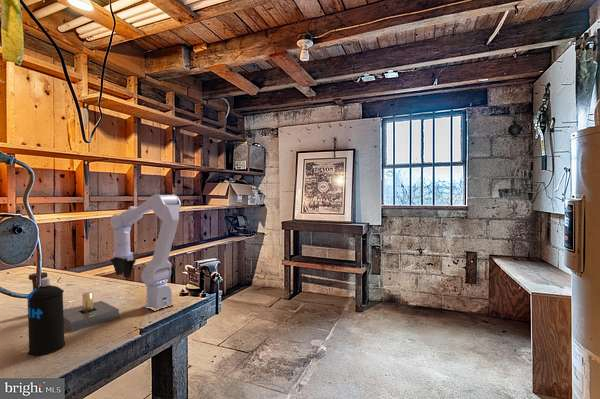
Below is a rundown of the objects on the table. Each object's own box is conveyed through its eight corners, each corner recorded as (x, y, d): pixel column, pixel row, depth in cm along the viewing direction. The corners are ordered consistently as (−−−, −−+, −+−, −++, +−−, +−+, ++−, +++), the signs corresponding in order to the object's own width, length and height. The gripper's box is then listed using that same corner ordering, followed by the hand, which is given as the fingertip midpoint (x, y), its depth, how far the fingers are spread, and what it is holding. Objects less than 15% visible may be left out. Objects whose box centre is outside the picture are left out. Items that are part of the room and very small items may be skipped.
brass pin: (95, 317, 111) (94, 292, 111) (90, 320, 108) (89, 294, 108) (86, 317, 110) (85, 292, 110) (81, 320, 107) (80, 295, 107)
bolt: (36, 317, 112) (35, 276, 112) (25, 316, 113) (24, 275, 113) (52, 311, 118) (51, 272, 118) (41, 310, 119) (40, 271, 119)
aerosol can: (61, 339, 93) (59, 273, 93) (69, 347, 88) (67, 277, 88) (25, 350, 87) (22, 279, 87) (31, 359, 82) (29, 284, 81)
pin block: (118, 317, 110) (118, 309, 110) (71, 331, 99) (71, 322, 99) (101, 308, 120) (101, 300, 119) (56, 320, 108) (56, 311, 108)
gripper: (140, 243, 126) (141, 276, 126) (124, 240, 135) (125, 271, 135) (121, 245, 121) (122, 280, 121) (107, 243, 130) (108, 275, 130)
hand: (123, 276), depth 128 cm, fingers open, 7 cm apart
